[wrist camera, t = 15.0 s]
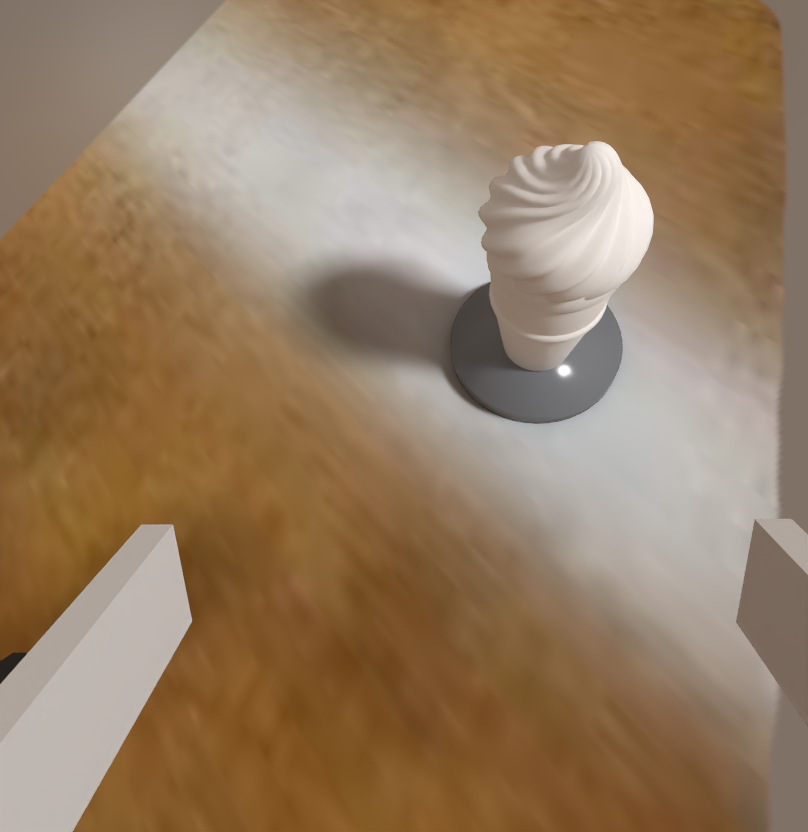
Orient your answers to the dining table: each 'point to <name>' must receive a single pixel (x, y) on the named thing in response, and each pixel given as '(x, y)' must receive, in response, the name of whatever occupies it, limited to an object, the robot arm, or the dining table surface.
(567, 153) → the soft serve ice cream cone
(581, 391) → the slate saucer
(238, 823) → the dining table surface
